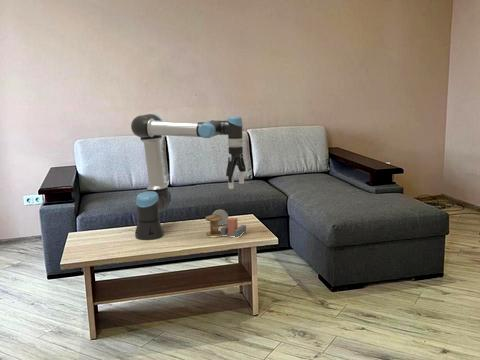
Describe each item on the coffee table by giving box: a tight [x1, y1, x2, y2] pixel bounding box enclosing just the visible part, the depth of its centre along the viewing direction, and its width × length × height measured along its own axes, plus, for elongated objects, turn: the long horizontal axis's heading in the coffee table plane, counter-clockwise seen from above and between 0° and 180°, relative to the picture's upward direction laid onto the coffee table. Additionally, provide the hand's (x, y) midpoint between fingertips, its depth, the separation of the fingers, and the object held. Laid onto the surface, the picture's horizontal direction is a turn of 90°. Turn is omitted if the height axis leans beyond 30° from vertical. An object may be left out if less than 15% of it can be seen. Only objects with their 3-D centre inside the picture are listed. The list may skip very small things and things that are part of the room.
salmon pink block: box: [227, 217, 239, 235], centre depth 269 cm, size 4×4×8 cm
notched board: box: [220, 224, 247, 237], centre depth 271 cm, size 10×11×4 cm
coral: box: [211, 209, 229, 226], centre depth 290 cm, size 10×10×10 cm
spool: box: [205, 214, 222, 237], centre depth 270 cm, size 9×9×10 cm
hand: (236, 186), depth 267 cm, fingers open, 13 cm apart
